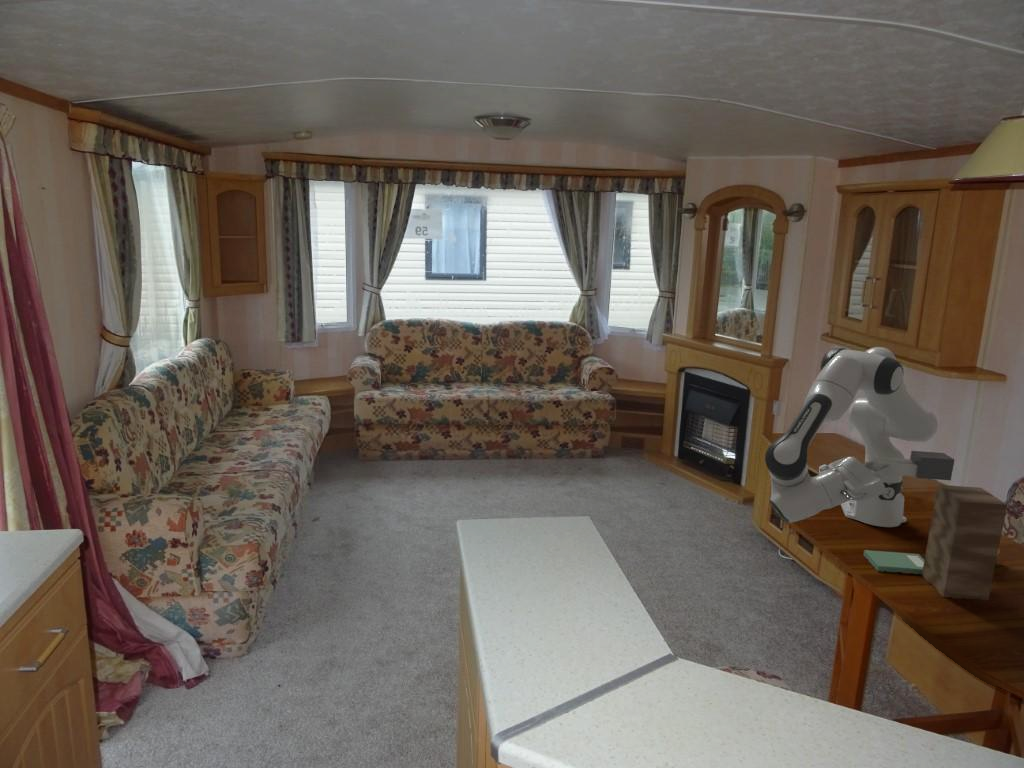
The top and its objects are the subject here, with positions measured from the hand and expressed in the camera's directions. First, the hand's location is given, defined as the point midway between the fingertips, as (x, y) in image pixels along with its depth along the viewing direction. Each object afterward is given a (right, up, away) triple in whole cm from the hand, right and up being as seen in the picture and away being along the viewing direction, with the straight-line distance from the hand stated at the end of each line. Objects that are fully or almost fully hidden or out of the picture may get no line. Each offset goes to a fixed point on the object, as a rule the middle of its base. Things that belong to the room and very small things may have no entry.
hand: (886, 465), depth 187 cm
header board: (+12, -30, +17) cm, 36 cm away
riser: (+21, -33, +5) cm, 39 cm away
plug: (+6, -2, 0) cm, 6 cm away
